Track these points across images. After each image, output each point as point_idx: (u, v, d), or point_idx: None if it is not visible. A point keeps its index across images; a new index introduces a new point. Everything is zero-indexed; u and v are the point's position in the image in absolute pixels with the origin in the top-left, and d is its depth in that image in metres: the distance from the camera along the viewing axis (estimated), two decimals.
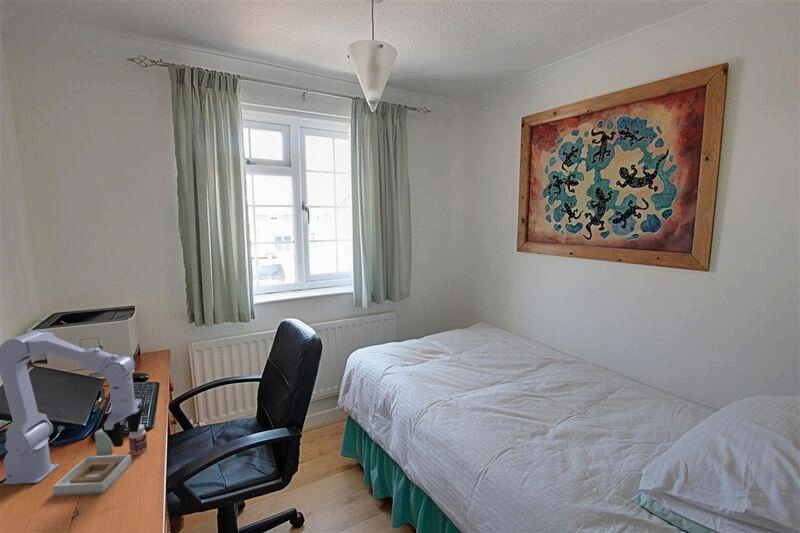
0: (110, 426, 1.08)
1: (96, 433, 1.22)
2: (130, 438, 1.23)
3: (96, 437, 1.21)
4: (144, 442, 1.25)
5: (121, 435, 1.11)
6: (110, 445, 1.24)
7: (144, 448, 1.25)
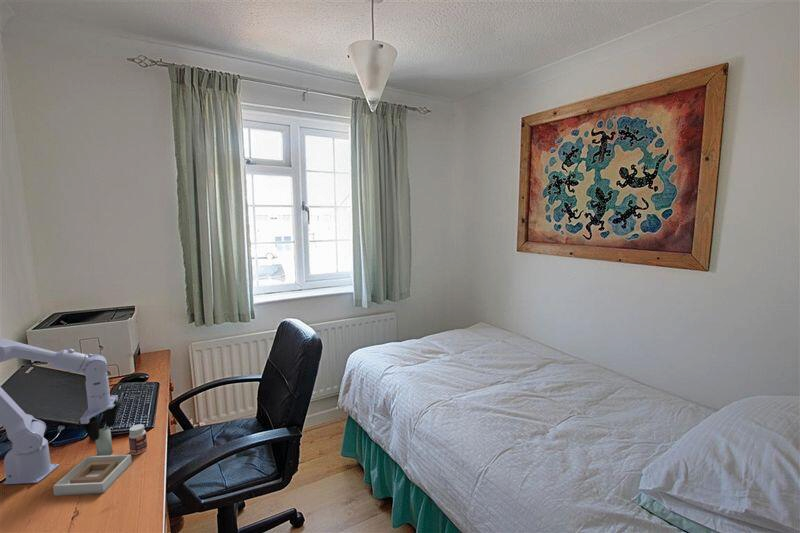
0: (86, 420, 1.15)
1: None
2: (129, 438, 1.23)
3: None
4: (144, 442, 1.25)
5: (97, 429, 1.18)
6: (110, 445, 1.24)
7: (144, 448, 1.25)
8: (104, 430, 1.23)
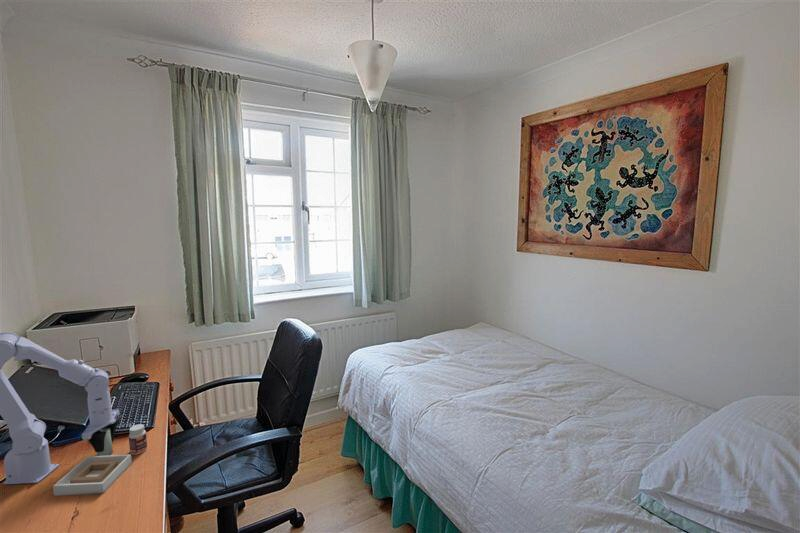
0: (88, 436, 1.16)
1: None
2: (129, 438, 1.23)
3: None
4: (144, 442, 1.25)
5: (102, 441, 1.20)
6: (110, 445, 1.24)
7: (144, 448, 1.25)
8: (104, 430, 1.23)
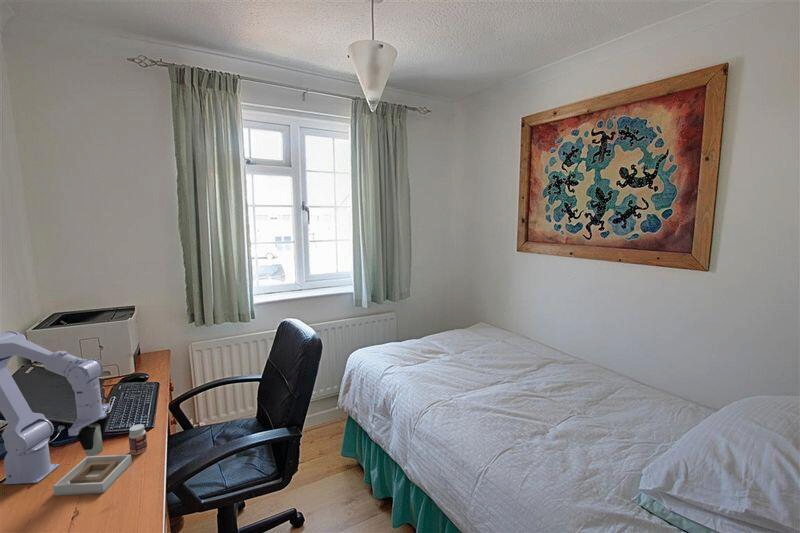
0: (75, 432, 1.05)
1: None
2: (129, 438, 1.23)
3: None
4: (144, 442, 1.25)
5: (91, 438, 1.10)
6: (100, 443, 1.13)
7: (144, 448, 1.25)
8: (93, 426, 1.12)
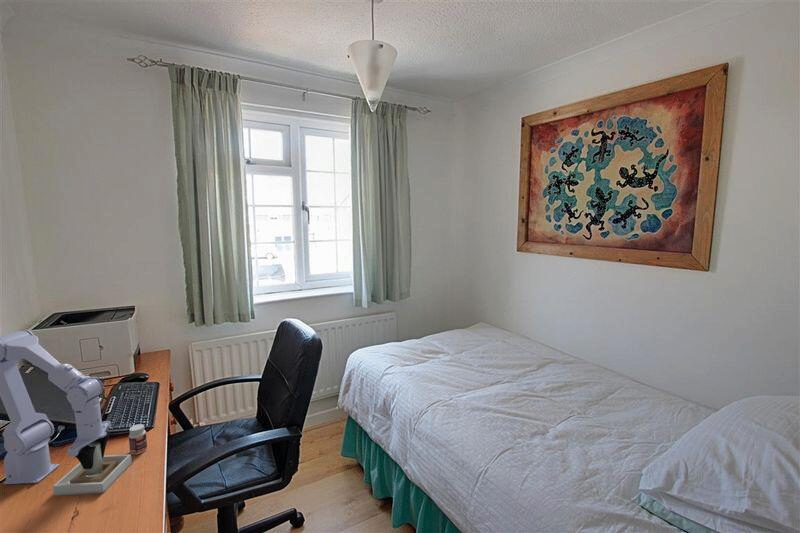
0: (74, 452, 1.04)
1: None
2: (129, 438, 1.23)
3: None
4: (144, 442, 1.25)
5: (91, 457, 1.09)
6: (100, 462, 1.12)
7: (144, 448, 1.25)
8: (93, 445, 1.12)
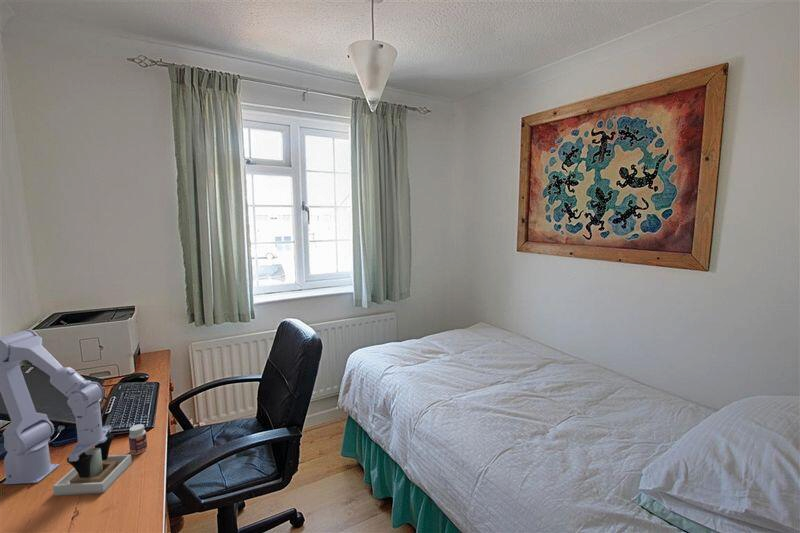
0: (75, 457, 1.04)
1: None
2: (130, 438, 1.23)
3: None
4: (144, 442, 1.25)
5: (87, 466, 1.07)
6: (100, 467, 1.12)
7: (144, 448, 1.25)
8: (93, 451, 1.12)
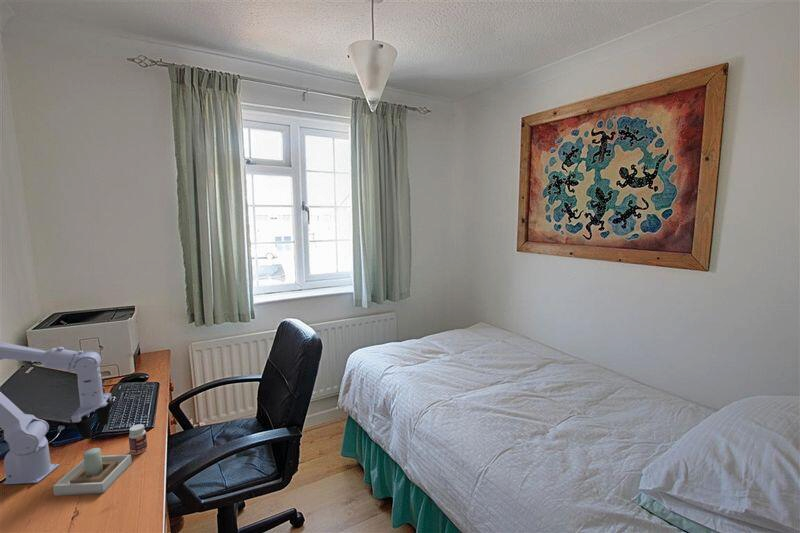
0: (77, 418, 1.11)
1: (85, 454, 1.10)
2: (130, 438, 1.23)
3: (84, 458, 1.10)
4: (144, 442, 1.25)
5: (89, 427, 1.15)
6: (100, 467, 1.12)
7: (144, 448, 1.25)
8: (93, 451, 1.12)
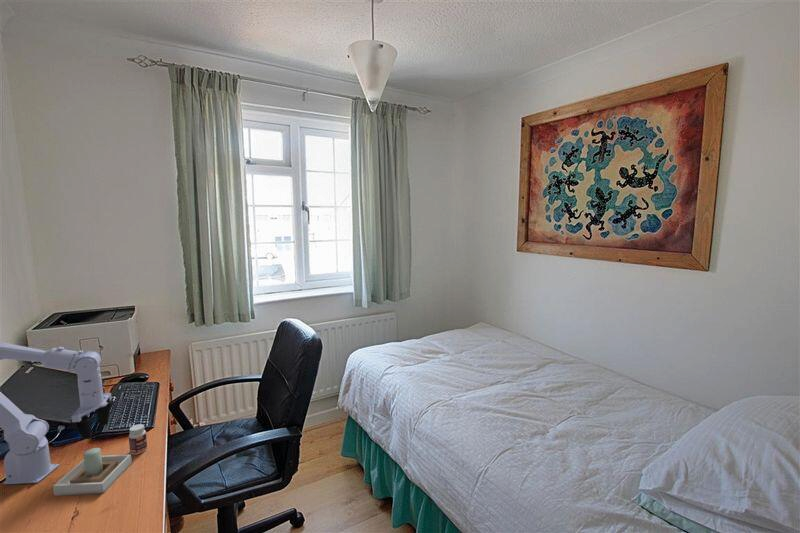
0: (78, 418, 1.12)
1: (85, 454, 1.10)
2: (129, 438, 1.23)
3: (84, 458, 1.10)
4: (144, 442, 1.25)
5: (89, 427, 1.15)
6: (100, 467, 1.12)
7: (144, 448, 1.25)
8: (93, 451, 1.12)
